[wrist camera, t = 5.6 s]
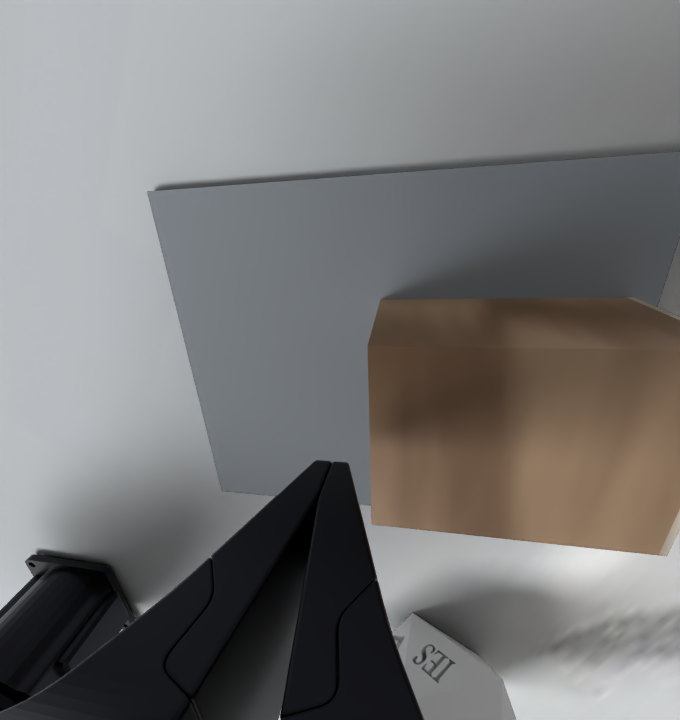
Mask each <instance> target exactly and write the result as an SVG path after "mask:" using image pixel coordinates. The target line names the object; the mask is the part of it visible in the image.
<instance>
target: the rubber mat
mask: <svg viewBox="0 0 680 720" xmlns="http://www.w3.org/2000/svg"><path fill="white" fill-rule="evenodd" d="M147 193H148V197H149V201H150V205H151V209H152V213H153V217H154V221H155V225H156V229H157V233H158V237H159V241H160V245H161V249H162V253H163V257H164V261H165V265H166V269H167V273H168V277H169V281H170V285H171V289H172V293H173V297H174V301H175V305H176V309H177V313H178V317H179V321H180V325H181V329H182V333H183V337H184V341H185V345H186V349H187V353H188V357H189V361H190V365H191V369H192V373H193V377H194V381H195V385H196V389H197V393H198V397H199V401H200V405H201V409H202V413H203V417H204V421H205V425H206V429H207V433H208V437H209V441H210V445H211V449H212V453H213V457H214V461H215V465H216V469H217V473H218V477H219V481H220V485H221V489H222V491H227V492H238V493H248V494H258V495H268V496H277V495H278V494H279V493H280V492H281V491H282V490H283V489H285V488H286V487H287V486H288V485H289V484H290V483H291V482H292V481H293V480H294V479H295V478H297V477H298V476H299V475H300V474H301V473H302V472H303V471H304V470H305V469H306V468H307V467H309V466H310V465H311V464H312V463H313V462H314V461H316V460H326V461H331V462H334V461H339V462H348V463H349V466H350V470H351V474H352V478H353V482H354V486H355V490H356V494H357V498H358V502H359V504H360V505H370V506H371V474H370V432H369V389H368V347H367V346H368V342H369V338H370V335H371V331H372V328H373V324H374V321H375V317H376V313H377V310H378V306H379V303H380V300H399V299H501V298H604V297H634V298H636V299H639V300H641V301H644V302H646V303H648V304H651V305H653V306H656V307H657V306H658V303H659V300H660V297H661V294H662V290H663V287H664V284H665V281H666V278H667V275H668V272H669V269H670V266H671V263H672V259H673V256H674V253H675V250H676V247H677V244H678V241H679V238H680V151H679V152H665V153H652V154H639V155H625V156H612V157H599V158H585V159H572V160H559V161H545V162H532V163H519V164H506V165H492V166H479V167H466V168H452V169H439V170H426V171H412V172H399V173H386V174H372V175H359V176H346V177H333V178H319V179H306V180H293V181H279V182H266V183H253V184H239V185H226V186H213V187H199V188H186V189H173V190H159V191H147Z"/></svg>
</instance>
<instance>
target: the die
mask: <svg viewBox="0 0 680 720" xmlns="http://www.w3.org/2000/svg"><path fill="white" fill-rule="evenodd" d="M392 634H393V637H394V639H395V642H396V645H397V648H398V651H399V654H400V657H401V659H402V662H403V665H404V668H405V670H406V673H407V675H408V678H409V681H410V683H411V686H412V688H413V691H414V694H415V696H416V699H417V702H418V704H419V707H420V709H421V712H422V715H423V717H424V720H516V717H515V714H514V711H513V708H512V706H511V703H510V700H509V697H508V694H507V691H506V688H505V685H504V682H503V680H502V678H501V677H500V676H499V675H498V674H497V673H496V672H495V671H494V670H493V669H492V668H491V667H490V666H489V665H488V664H487V663H486V662H485V661H484V660H483V659H482V658H481V657H480V656H478V655H477V654H475V653H474V652H472V651H471V650H469V649H468V648H466V647H465V646H463V645H462V644H460V643H458V642H457V641H455V640H454V639H452V638H451V637H449V636H448V635H446V634H445V633H443V632H442V631H440V630H438V629H437V628H435V627H434V626H432V625H431V624H429V623H428V622H426V621H425V620H423V619H421V618H420V617H418V616H417V615H415V614H414V613H412V614H411V615H410V616H409V617H408V618H407V619H406V620H405V621H404V622H403V623H402V624H401V625H400V626H399V627H398V628H397V629H396V630H395V631H394V632H393V633H392Z"/></svg>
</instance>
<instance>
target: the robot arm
mask: <svg viewBox="0 0 680 720" xmlns="http://www.w3.org/2000/svg"><path fill="white" fill-rule="evenodd" d="M25 563H26V565H27V566H28V568H29V570H30V571H31V573H32V574H33V576H34V577H33V578H32V579H31V580H30V581H29V582H28V583H27V584H26V585H25V586H24V587H23V588H22V589H21V590H20V591H19V592H18V593H17V594H16V595H15V596H14V597H13V598H12V599H11V600H10V601H9V602H8V603H7V604H6V605H5V606H4V607H3V608H2V609H1V610H0V720H278V718H279V715H280V718H281V720H424V717H423V715H422V712H421V709H420V707H419V704H418V702H417V699H416V696H415V694H414V691H413V688H412V686H411V683H410V681H409V678H408V675H407V673H406V670H405V668H404V665H403V662H402V659H401V657H400V654H399V651H398V648H397V645H396V642H395V639H394V637H393V634H392V631H391V628H390V624H389V621H388V617H387V614H386V610H385V606H384V603H383V599H382V595H381V591H380V587H379V583H378V581H377V575H376V571H375V567H374V563H373V559H372V555H371V551H370V547H369V543H368V539H367V535H366V531H365V527H364V523H363V519H362V514H361V510H360V506H359V502H358V498H357V494H356V490H355V486H354V482H353V478H352V474H351V470H350V466H349V463H348V462H339V461H334V462H331V461H326V460H316V461H314V462H313V463H312V464H311V465H310V466H309V467H307V468H306V469H305V470H304V471H303V472H302V473H301V474H300V475H299V476H298V477H297V478H295V479H294V480H293V481H292V482H291V483H290V484H289V485H288V486H287V487H286V488H285V489H283V490H282V491H281V492H280V493H279V494H278V495H277V496H276V497H275V498H274V499H273V500H271V501H270V502H269V503H268V504H267V505H266V506H265V507H264V508H263V509H262V510H261V511H259V512H258V513H257V514H256V515H255V516H254V517H253V518H252V519H251V520H250V521H249V522H247V523H246V524H245V525H244V526H243V527H242V528H241V529H240V530H239V531H238V532H237V533H236V534H234V535H233V536H232V537H231V538H230V539H229V540H228V541H227V542H226V543H225V544H224V545H222V546H221V547H220V548H219V549H218V550H217V551H216V552H215V553H214V554H213V555H212V559H211V558H208V559H207V560H206V561H205V562H204V563H203V564H201V565H200V566H199V567H198V568H197V569H196V570H195V571H194V572H193V573H192V574H190V575H189V576H188V577H187V578H186V579H185V580H184V581H182V582H181V583H180V584H179V585H178V586H177V587H176V588H174V589H173V590H172V591H171V592H170V593H169V594H167V595H166V596H165V597H164V598H162V599H161V600H160V601H159V602H157V603H156V604H155V605H154V606H153V607H151V608H150V609H149V610H148V611H146V612H145V613H144V614H143V615H141V616H140V617H139V618H138V619H136V620H135V619H134V617H133V615H132V613H131V610H130V608H129V606H128V604H127V602H126V600H125V598H124V596H123V594H122V591H121V589H120V587H119V585H118V583H117V581H116V579H115V577H114V575H113V573H112V571H111V569H110V568H109V567H107V566H105V565H101V564H94V563H87V562H81V561H74V560H67V559H61V558H54V557H47V556H41V555H31V556H30V557H29V558H28V559H27V560H26V561H25ZM121 629H123V630H122V631H121ZM120 631H121V632H120ZM119 632H120V633H119ZM281 708H282V709H281ZM280 711H281V714H280Z"/></svg>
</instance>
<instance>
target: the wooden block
mask: <svg viewBox="0 0 680 720" xmlns="http://www.w3.org/2000/svg"><path fill="white" fill-rule="evenodd" d="M367 347H368V389H369V432H370V474H371V517H372V524H373V525H382V526H391V527H401V528H410V529H419V530H428V531H438V532H447V533H456V534H466V535H475V536H484V537H493V538H503V539H512V540H521V541H531V542H540V543H549V544H559V545H568V546H577V547H586V548H596V549H605V550H614V551H624V552H633V553H642V554H651V555H661V556H667V555H668V553H669V551H670V549H671V547H672V545H673V543H674V541H675V539H676V536H677V534H678V532H679V530H680V316H677V315H675V314H673V313H670V312H668V311H665V310H663V309H661V308H658V307H656V306H653V305H651V304H648V303H646V302H644V301H641V300H639V299H636V298H634V297H604V298H501V299H399V300H380V303H379V306H378V310H377V313H376V317H375V321H374V324H373V328H372V331H371V335H370V338H369V342H368V346H367Z"/></svg>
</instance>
